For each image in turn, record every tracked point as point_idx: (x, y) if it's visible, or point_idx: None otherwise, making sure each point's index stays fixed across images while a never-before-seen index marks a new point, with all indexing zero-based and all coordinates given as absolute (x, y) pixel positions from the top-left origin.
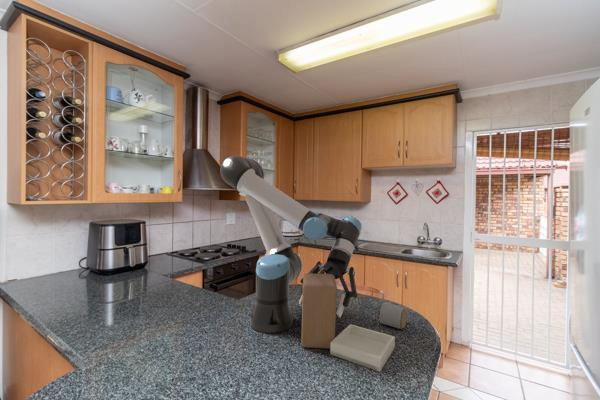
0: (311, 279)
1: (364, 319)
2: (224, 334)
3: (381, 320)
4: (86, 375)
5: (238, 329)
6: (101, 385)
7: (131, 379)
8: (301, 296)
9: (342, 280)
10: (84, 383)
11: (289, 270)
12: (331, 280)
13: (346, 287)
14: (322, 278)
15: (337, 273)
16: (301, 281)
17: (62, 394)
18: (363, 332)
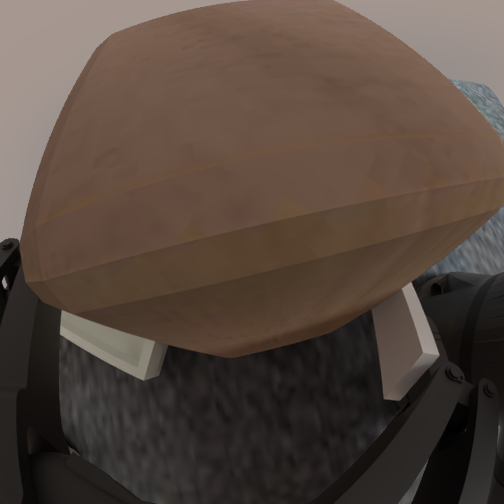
0: (334, 22)
1: (133, 488)
2: (494, 232)
3: (69, 448)
4: (497, 105)
5: (490, 268)
6: (474, 91)
7: (468, 98)
8: (411, 285)
9: (10, 345)
10: (485, 94)
11: None
12: (105, 60)
13: (20, 277)
14: (212, 45)
15: (13, 439)
16: (487, 384)
17: (479, 83)
18: (103, 346)
